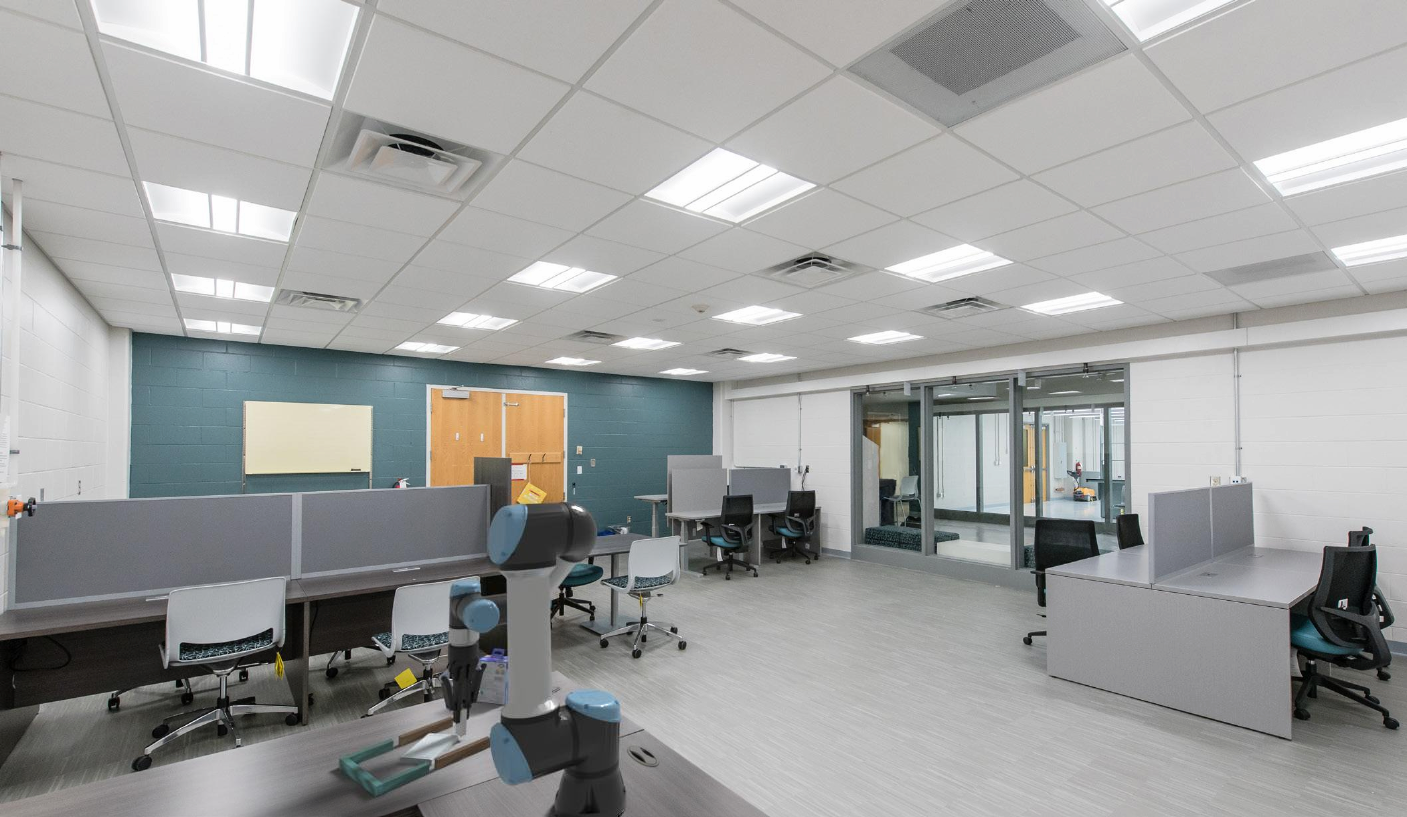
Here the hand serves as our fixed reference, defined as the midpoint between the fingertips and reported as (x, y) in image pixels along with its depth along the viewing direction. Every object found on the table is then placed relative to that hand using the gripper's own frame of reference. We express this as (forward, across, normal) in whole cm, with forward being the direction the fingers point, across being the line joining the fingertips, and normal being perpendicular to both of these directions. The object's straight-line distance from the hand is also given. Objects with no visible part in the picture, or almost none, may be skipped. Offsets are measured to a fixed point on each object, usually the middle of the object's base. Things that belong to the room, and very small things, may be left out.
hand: (460, 734), depth 158 cm
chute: (+1, +12, 0) cm, 12 cm away
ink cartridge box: (+2, -19, -14) cm, 24 cm away
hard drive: (+2, +8, 0) cm, 8 cm away
